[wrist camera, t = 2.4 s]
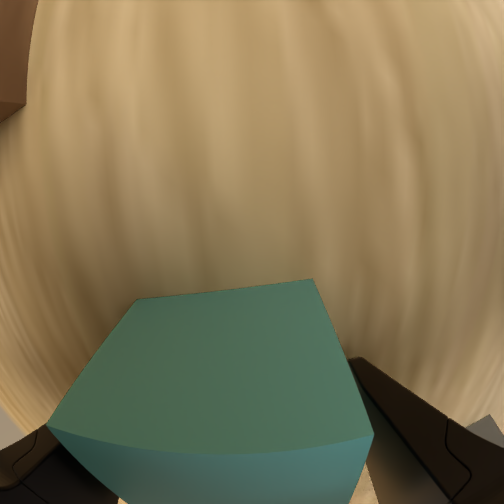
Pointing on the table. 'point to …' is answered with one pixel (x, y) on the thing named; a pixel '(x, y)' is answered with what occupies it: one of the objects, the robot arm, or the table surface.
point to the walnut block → (14, 53)
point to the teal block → (220, 402)
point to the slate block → (488, 430)
